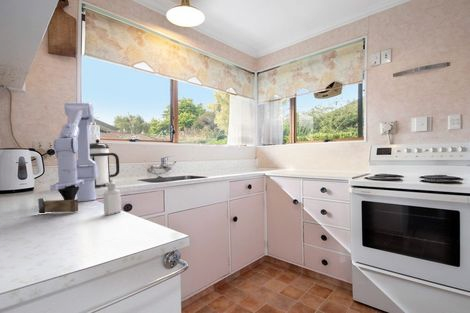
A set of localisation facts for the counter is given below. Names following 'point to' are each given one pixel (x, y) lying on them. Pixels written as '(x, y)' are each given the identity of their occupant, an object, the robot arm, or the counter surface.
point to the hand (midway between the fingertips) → (69, 206)
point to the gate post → (41, 205)
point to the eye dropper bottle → (112, 199)
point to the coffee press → (102, 162)
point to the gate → (61, 205)
